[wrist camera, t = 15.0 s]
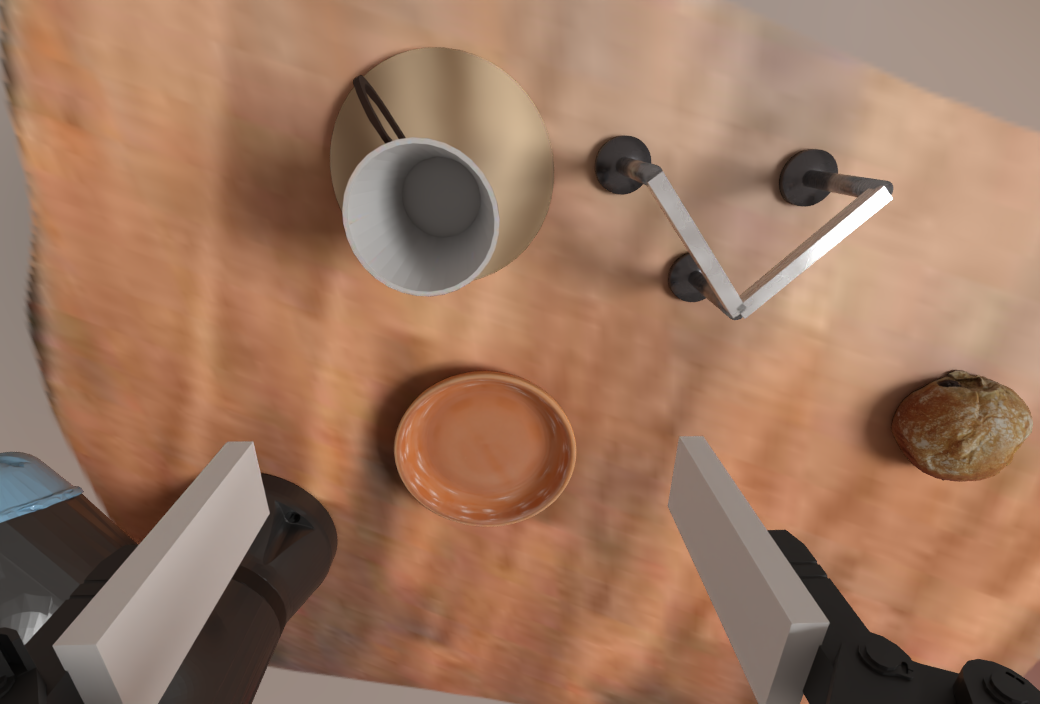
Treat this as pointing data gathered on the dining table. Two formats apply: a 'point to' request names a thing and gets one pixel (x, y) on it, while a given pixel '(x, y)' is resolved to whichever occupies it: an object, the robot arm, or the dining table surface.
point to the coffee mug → (418, 210)
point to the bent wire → (699, 271)
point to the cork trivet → (458, 133)
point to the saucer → (485, 449)
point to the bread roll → (962, 427)
